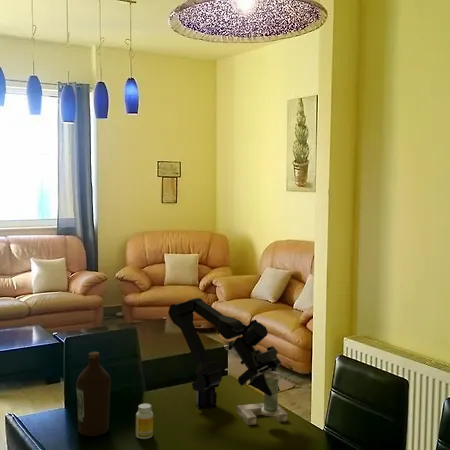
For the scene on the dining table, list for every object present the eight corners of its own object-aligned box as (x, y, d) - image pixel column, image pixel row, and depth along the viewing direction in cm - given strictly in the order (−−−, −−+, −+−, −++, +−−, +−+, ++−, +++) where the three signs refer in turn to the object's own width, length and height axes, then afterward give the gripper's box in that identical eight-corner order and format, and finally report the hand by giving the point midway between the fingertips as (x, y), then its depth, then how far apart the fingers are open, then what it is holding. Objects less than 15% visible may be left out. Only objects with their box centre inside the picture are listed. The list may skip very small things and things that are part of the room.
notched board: (247, 425, 196) (247, 417, 196) (237, 412, 206) (237, 405, 206) (287, 421, 200) (287, 413, 200) (275, 408, 211) (275, 402, 210)
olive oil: (106, 421, 196) (107, 347, 195) (113, 434, 187) (114, 355, 185) (73, 426, 192) (74, 349, 190) (79, 439, 183) (79, 359, 181)
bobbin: (265, 417, 191) (266, 377, 190) (258, 410, 197) (260, 371, 196) (282, 415, 193) (283, 376, 192) (275, 408, 199) (277, 370, 198)
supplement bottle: (132, 435, 187) (132, 405, 186) (147, 430, 190) (147, 401, 189) (141, 441, 182) (141, 410, 182) (156, 436, 186) (156, 406, 185)
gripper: (247, 345, 188) (275, 388, 182) (277, 334, 203) (304, 372, 197) (225, 365, 193) (253, 406, 187) (257, 352, 208) (283, 390, 203)
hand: (274, 393), depth 194 cm, fingers closed on bobbin, 4 cm apart
